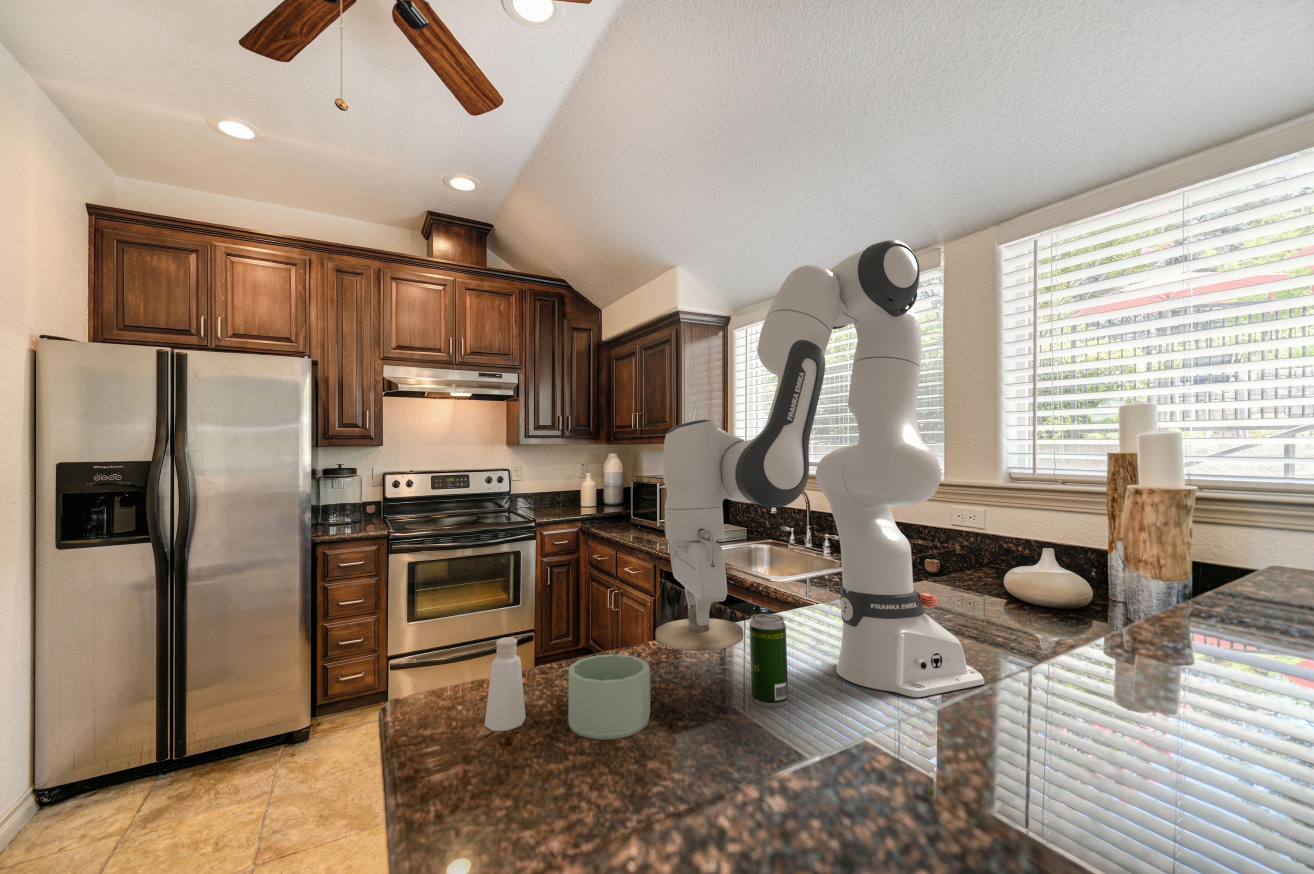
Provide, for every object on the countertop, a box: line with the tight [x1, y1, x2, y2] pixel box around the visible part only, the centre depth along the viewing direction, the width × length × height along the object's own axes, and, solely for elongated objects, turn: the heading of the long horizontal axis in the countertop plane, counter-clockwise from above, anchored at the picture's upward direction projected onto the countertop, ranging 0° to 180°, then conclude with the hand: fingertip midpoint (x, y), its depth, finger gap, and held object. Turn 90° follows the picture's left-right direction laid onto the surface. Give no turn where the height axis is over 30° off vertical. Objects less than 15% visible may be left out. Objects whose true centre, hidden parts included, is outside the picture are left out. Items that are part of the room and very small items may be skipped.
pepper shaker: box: [484, 636, 526, 732], centre depth 72 cm, size 5×5×11 cm
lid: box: [655, 607, 744, 652], centre depth 78 cm, size 13×13×4 cm
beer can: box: [749, 613, 789, 708], centre depth 78 cm, size 5×5×12 cm
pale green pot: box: [567, 653, 651, 741], centre depth 72 cm, size 11×11×7 cm
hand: (698, 620), depth 78 cm, fingers closed on lid, 3 cm apart
